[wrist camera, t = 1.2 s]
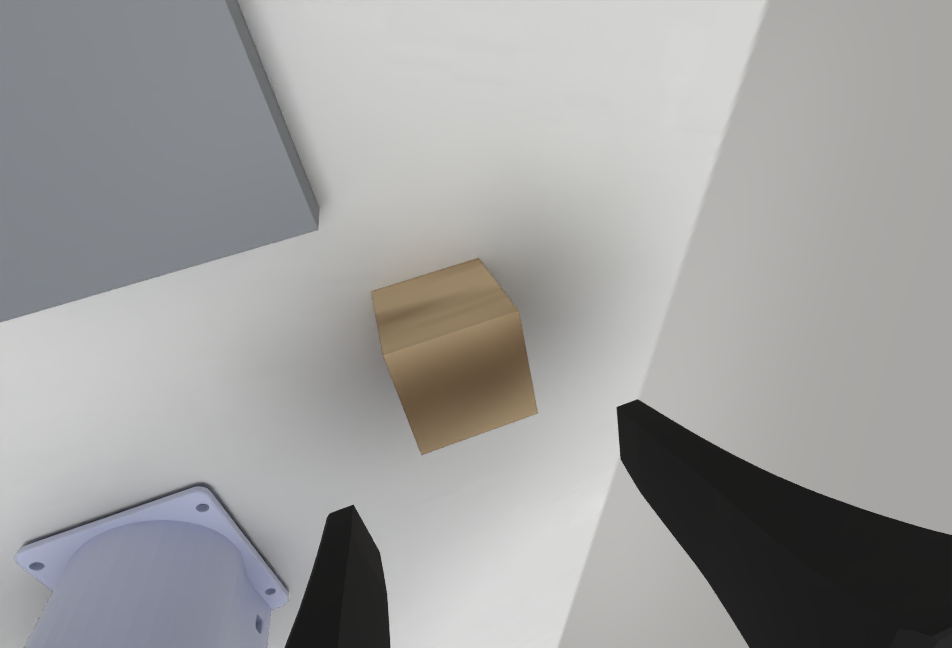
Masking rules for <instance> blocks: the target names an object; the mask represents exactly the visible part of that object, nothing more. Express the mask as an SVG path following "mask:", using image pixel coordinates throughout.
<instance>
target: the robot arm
mask: <svg viewBox="0 0 952 648" xmlns="http://www.w3.org/2000/svg"><path fill="white" fill-rule="evenodd" d="M617 418H618V431H619V444H620V457H621V461H622V462H623V464H624V466H625V468H626V469H627V471H628V473H629V474H630V476H631V478H632V479H633V481H634V483H635V484H636V486H637V488H638V489H639V491H640V492H641V494H642V495H643V496H644V498H645V499H646V501H647V502H648V503H649V504H650V506H651V507H652V509H653V510H654V511H655V512H656V513H657V515H658V516H659V518H660V519H661V520H662V522H663V523H664V524H665V525H666V527H667V528H668V529H669V531H670V532H671V533H672V535H673V536H674V537H675V538H676V540H677V541H678V542H679V544H680V545H681V546H682V547H683V549H684V550H685V551H686V553H687V554H688V555H689V557H690V558H691V559H692V560H693V562H694V563H695V564H696V566H697V567H698V568H699V570H700V571H701V573H702V574H703V575H704V577H705V578H706V579H707V581H708V582H709V584H710V586H711V587H712V589H713V590H714V592H715V593H716V595H717V596H718V598H719V600H720V601H721V603H722V604H723V606H724V607H725V609H726V610H727V612H728V613H729V615H730V617H731V618H732V620H733V622H734V623H735V625H736V626H737V628H738V630H739V631H740V633H741V635H742V636H743V638H744V639H745V641H746V643H747V644H748V646H749V648H952V535H949V534H945V533H941V532H937V531H933V530H929V529H926V528H922V527H918V526H915V525H912V524H908V523H905V522H902V521H898V520H895V519H892V518H889V517H885V516H882V515H879V514H876V513H873V512H870V511H867V510H864V509H861V508H858V507H855V506H853V505H850V504H847V503H844V502H841V501H838V500H836V499H833V498H830V497H827V496H824V495H822V494H819V493H816V492H814V491H812V490H809V489H807V488H804V487H802V486H799V485H797V484H795V483H792V482H790V481H788V480H785V479H783V478H781V477H778V476H776V475H774V474H772V473H769V472H767V471H765V470H763V469H761V468H759V467H757V466H755V465H753V464H751V463H748V462H747V461H745V460H743V459H741V458H739V457H736V456H735V455H733V454H731V453H729V452H727V451H725V450H723V449H721V448H720V447H718V446H716V445H714V444H712V443H711V442H709V441H707V440H705V439H703V438H701V437H700V436H698V435H696V434H695V433H693V432H691V431H689V430H688V429H686V428H684V427H683V426H681V425H679V424H678V423H676V422H674V421H673V420H671V419H669V418H668V417H666V416H664V415H663V414H661V413H659V412H658V411H656V410H655V409H653V408H651V407H649V406H648V405H646V404H645V403H643V402H641V401H640V400H638V399H637V400H634V401H632V402H629V403H626V404H624V405H621V406H618V407H617ZM201 504H207V505H201ZM14 560H15V561H16V563H17V564H18V565H20V566H21V567H22V568H23V569H25V570H26V571H27V572H28V573H30V574H31V575H32V576H33V577H35V578H36V579H37V580H39V581H40V582H41V583H42V584H44V585H45V586H46V587H47V588H49V589H50V590H51V591H52V594H51V596H50V598H49V600H48V602H47V604H46V606H45V608H44V609H43V611H42V613H41V615H40V617H39V619H38V621H37V623H36V625H35V627H34V629H33V631H32V633H31V635H30V636H29V638H28V640H27V642H26V644H25V646H24V648H267V645H268V635H269V625H270V616H271V610H273V609H276V608H278V607H281V606H283V605H285V604H286V603H287V602H288V598H289V593H288V591H287V590H286V589H285V587H284V586H283V585H282V583H281V582H280V581H279V580H278V578H277V577H276V576H275V574H274V573H273V572H272V570H271V569H270V568H269V567H268V565H267V564H266V563H265V561H264V560H263V559H262V558H261V556H260V555H259V554H258V552H257V551H256V550H255V548H254V547H253V546H252V545H251V543H250V542H249V541H248V539H247V538H246V537H245V535H244V534H243V533H242V532H241V530H240V529H239V528H238V526H237V525H236V524H235V522H234V521H233V520H232V519H231V517H230V516H229V515H228V513H227V512H226V511H225V510H224V508H223V507H222V506H221V504H220V503H219V502H218V500H217V499H216V498H215V497H214V495H213V494H212V493H211V491H210V490H209V489H207V488H205V487H200V486H197V487H193V488H190V489H187V490H184V491H181V492H178V493H175V494H172V495H169V496H167V497H164V498H161V499H158V500H155V501H152V502H149V503H146V504H143V505H141V506H138V507H135V508H132V509H129V510H126V511H123V512H120V513H118V514H115V515H112V516H109V517H106V518H103V519H100V520H97V521H94V522H92V523H89V524H86V525H83V526H80V527H77V528H74V529H71V530H68V531H66V532H63V533H60V534H57V535H54V536H51V537H48V538H45V539H43V540H40V541H37V542H34V543H31V544H28V545H25V546H23V547H21V548H20V549H19V551H18V552H17V554H16V555H15V557H14ZM285 648H390V632H389V616H388V601H387V591H386V585H385V579H384V573H383V567H382V562H381V556H380V552H379V550H378V548H377V546H376V544H375V543H374V541H373V539H372V537H371V535H370V534H369V532H368V530H367V528H366V526H365V525H364V523H363V521H362V519H361V517H360V516H359V514H358V512H357V510H356V508H355V506H354V505H351V506H349V507H346V508H343V509H340V510H338V511H335V512H332V513H330V514H329V515H328V517H327V520H326V523H325V527H324V531H323V535H322V539H321V542H320V546H319V549H318V553H317V556H316V559H315V563H314V566H313V569H312V573H311V576H310V579H309V582H308V585H307V588H306V591H305V594H304V597H303V600H302V603H301V606H300V608H299V611H298V614H297V617H296V619H295V622H294V624H293V627H292V630H291V632H290V635H289V638H288V640H287V643H286V645H285Z"/></svg>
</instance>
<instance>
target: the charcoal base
mask: <svg viewBox="0 0 952 648" xmlns="http://www.w3.org/2000/svg"><path fill="white" fill-rule="evenodd" d="M318 223H319V207H318V204H317V202H316V199H315V197H314V194H313V191H312V189H311V186H310V184H309V181H308V179H307V176H306V174H305V171H304V169H303V166H302V164H301V161H300V159H299V156H298V153H297V151H296V148H295V146H294V143H293V141H292V138H291V136H290V133H289V131H288V128H287V126H286V123H285V121H284V118H283V115H282V113H281V110H280V108H279V105H278V103H277V100H276V98H275V95H274V93H273V90H272V88H271V85H270V83H269V80H268V77H267V75H266V72H265V70H264V67H263V65H262V62H261V60H260V57H259V55H258V52H257V50H256V47H255V45H254V42H253V39H252V37H251V34H250V32H249V29H248V27H247V24H246V22H245V19H244V17H243V14H242V12H241V9H240V7H239V4H238V1H237V0H0V322H3V321H7V320H10V319H14V318H17V317H20V316H24V315H27V314H31V313H34V312H38V311H41V310H45V309H48V308H51V307H55V306H58V305H62V304H65V303H69V302H72V301H75V300H79V299H82V298H86V297H89V296H93V295H96V294H100V293H103V292H106V291H110V290H113V289H117V288H120V287H124V286H127V285H130V284H134V283H137V282H141V281H144V280H148V279H151V278H155V277H158V276H161V275H165V274H168V273H172V272H175V271H179V270H182V269H185V268H189V267H192V266H196V265H199V264H203V263H206V262H210V261H213V260H216V259H220V258H223V257H227V256H230V255H234V254H237V253H240V252H244V251H247V250H251V249H254V248H258V247H261V246H265V245H268V244H271V243H275V242H278V241H282V240H285V239H289V238H292V237H295V236H299V235H302V234H306V233H309V232H313V231H316V230H318Z"/></svg>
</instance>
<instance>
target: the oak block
mask: <svg viewBox="0 0 952 648" xmlns="http://www.w3.org/2000/svg"><path fill="white" fill-rule="evenodd" d="M371 294H372V300H373V305H374V310H375V316H376V321H377V326H378V332H379V337H380V342H381V348H382V353H383V357H384V360H385V362H386V365H387V367H388V370H389V372H390V375H391V378H392V380H393V383H394V385H395V388H396V391H397V393H398V396H399V398H400V401H401V403H402V406H403V409H404V411H405V414H406V416H407V419H408V422H409V424H410V427H411V429H412V432H413V434H414V437H415V440H416V442H417V445H418V447H419V450H420V453H421V455H423V454H426V453H429V452H432V451H434V450H437V449H440V448H443V447H445V446H448V445H451V444H454V443H457V442H459V441H462V440H465V439H468V438H471V437H473V436H476V435H479V434H482V433H484V432H487V431H490V430H493V429H496V428H498V427H501V426H504V425H507V424H509V423H512V422H515V421H518V420H521V419H523V418H526V417H529V416H532V415H535V414H537V413H538V411H537V406H536V400H535V395H534V390H533V384H532V379H531V374H530V368H529V363H528V358H527V352H526V347H525V342H524V336H523V331H522V325H521V320H520V315H519V310H518V309H517V308H516V307H515V305H514V304H513V303H512V301H511V300H510V299H509V297H508V296H507V295H506V293H505V292H504V291H503V289H502V288H501V287H500V286H499V284H498V283H497V282H496V280H495V279H494V278H493V276H492V275H491V274H490V272H489V271H488V270H487V269H486V267H485V266H484V265H483V263H482V262H481V261H480V259H479V258H477V259H474V260H470V261H467V262H464V263H461V264H457V265H454V266H451V267H448V268H445V269H441V270H438V271H435V272H432V273H429V274H425V275H422V276H419V277H416V278H412V279H409V280H406V281H403V282H400V283H396V284H393V285H390V286H387V287H384V288H380V289H377V290H374V291H371Z"/></svg>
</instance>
